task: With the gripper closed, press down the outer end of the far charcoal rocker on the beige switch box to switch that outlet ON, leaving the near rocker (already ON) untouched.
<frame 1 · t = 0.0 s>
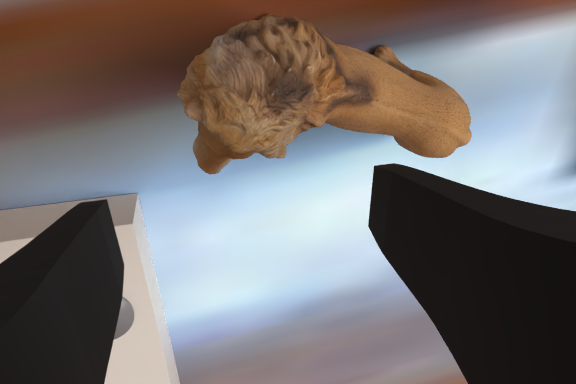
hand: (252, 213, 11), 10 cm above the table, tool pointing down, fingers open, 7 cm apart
beige switch box: (70, 338, 24), on the table
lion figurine: (315, 81, 20), on the table
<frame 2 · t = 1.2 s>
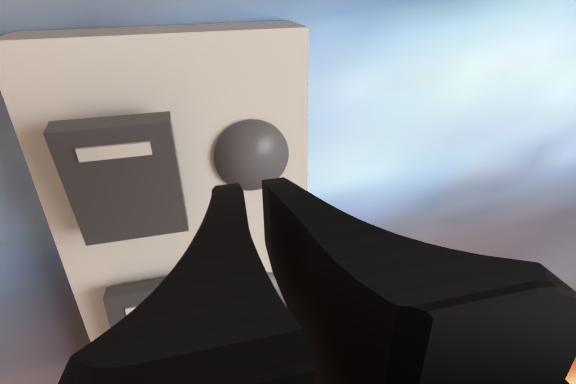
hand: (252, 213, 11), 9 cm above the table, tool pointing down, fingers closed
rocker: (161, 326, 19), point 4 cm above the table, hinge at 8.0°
beige switch box: (190, 210, 21), on the table
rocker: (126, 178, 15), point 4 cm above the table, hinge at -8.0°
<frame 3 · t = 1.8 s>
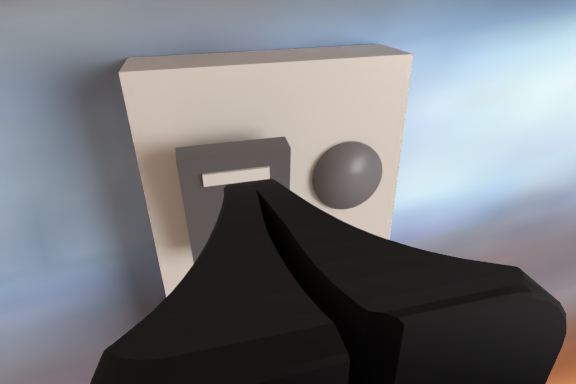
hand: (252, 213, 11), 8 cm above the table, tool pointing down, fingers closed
beige switch box: (269, 225, 21), on the table
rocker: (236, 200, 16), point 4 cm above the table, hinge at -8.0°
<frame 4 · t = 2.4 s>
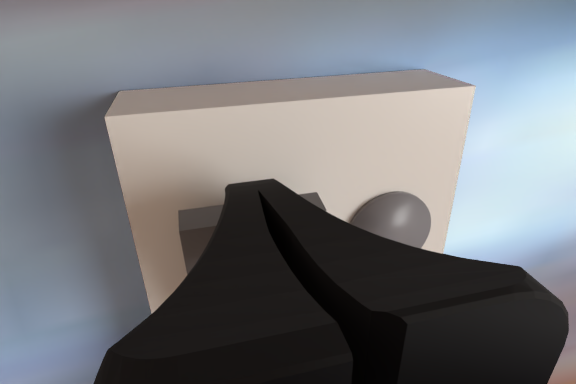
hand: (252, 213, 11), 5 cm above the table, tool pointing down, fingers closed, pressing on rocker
beige switch box: (289, 279, 18), on the table
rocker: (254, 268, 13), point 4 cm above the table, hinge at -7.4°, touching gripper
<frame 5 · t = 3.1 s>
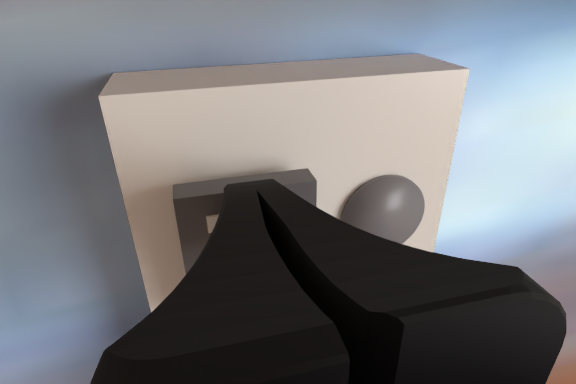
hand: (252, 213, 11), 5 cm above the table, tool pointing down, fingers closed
beige switch box: (284, 264, 18), on the table
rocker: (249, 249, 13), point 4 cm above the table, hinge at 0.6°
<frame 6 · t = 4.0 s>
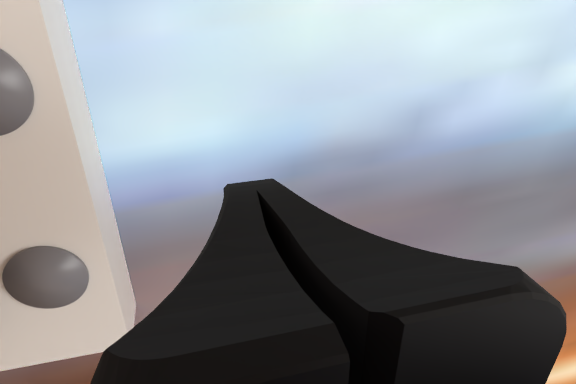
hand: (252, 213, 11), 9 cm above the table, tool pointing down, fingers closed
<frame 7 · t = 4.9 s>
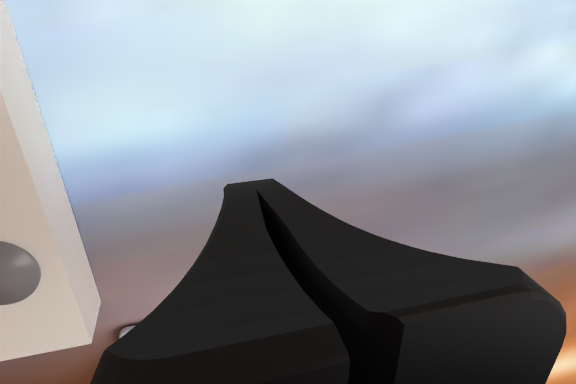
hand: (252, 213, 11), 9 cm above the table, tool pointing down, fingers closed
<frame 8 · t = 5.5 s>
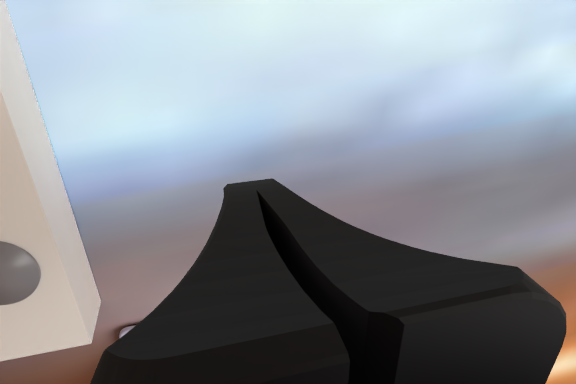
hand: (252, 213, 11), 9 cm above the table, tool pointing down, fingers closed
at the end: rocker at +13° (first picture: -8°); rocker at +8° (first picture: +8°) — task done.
